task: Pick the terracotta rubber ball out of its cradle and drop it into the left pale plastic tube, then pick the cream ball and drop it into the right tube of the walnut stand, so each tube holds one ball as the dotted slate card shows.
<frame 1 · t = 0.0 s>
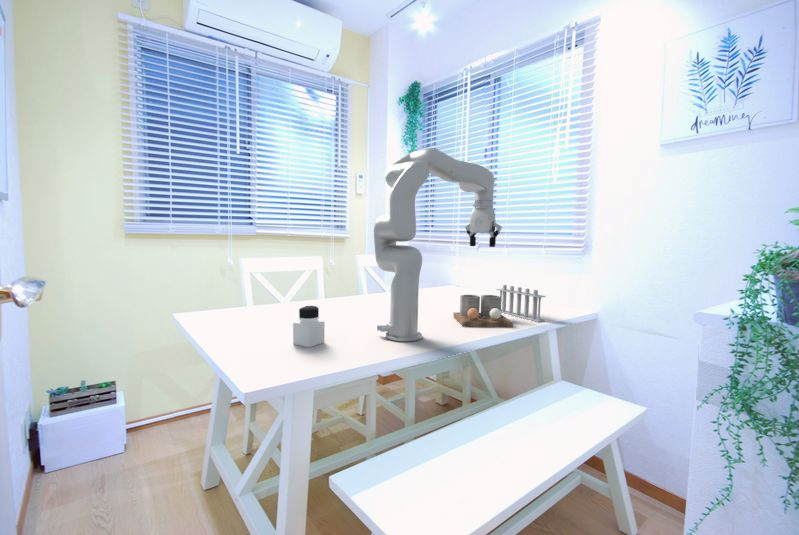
hand: (482, 246, 158), 31 cm above the table, tool pointing down, fingers open, 9 cm apart
stand: (481, 321, 156), on the table
medicine bottle: (308, 344, 120), on the table
ball cream: (495, 313, 151), point 5 cm above the table, touching stand
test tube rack: (518, 317, 169), on the table
ball terracotta: (473, 313, 150), point 5 cm above the table, touching stand
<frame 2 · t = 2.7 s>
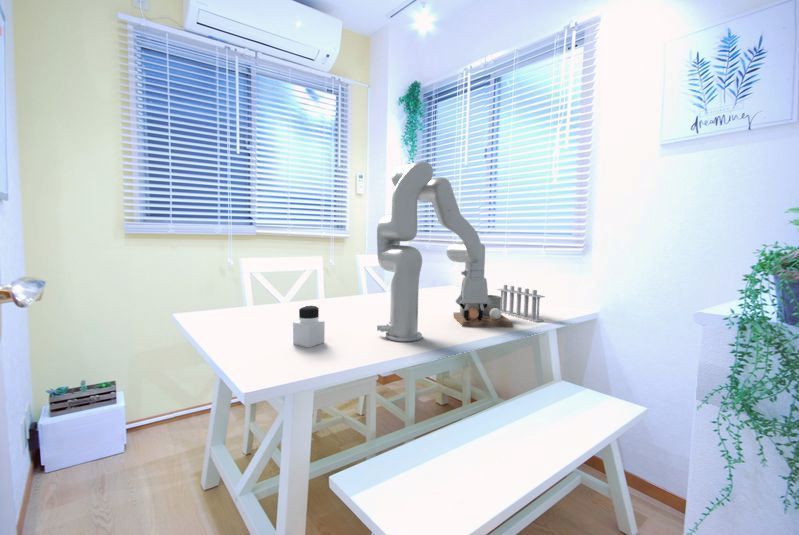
hand: (472, 319, 150), 2 cm above the table, tool pointing down, fingers closed on ball terracotta, stand, 4 cm apart
ball terracotta: (473, 313, 150), point 5 cm above the table, touching gripper, stand
everything else where it was.
when the fingers open (11 cm above the table, at t = 6.2 s): ball terracotta drops 9 cm, resting on stand.
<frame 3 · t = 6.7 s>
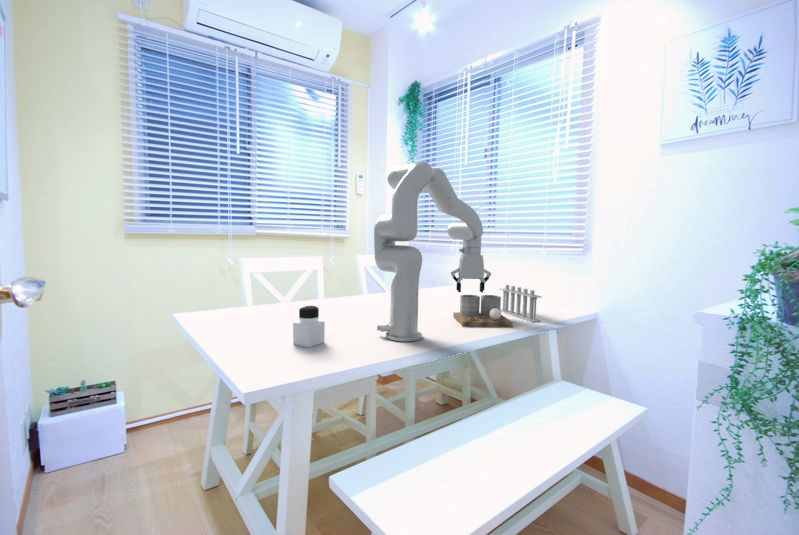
hand: (470, 292, 160), 12 cm above the table, tool pointing down, fingers open, 9 cm apart
ball terracotta: (469, 309, 160), point 4 cm above the table, tilted 7°, touching stand
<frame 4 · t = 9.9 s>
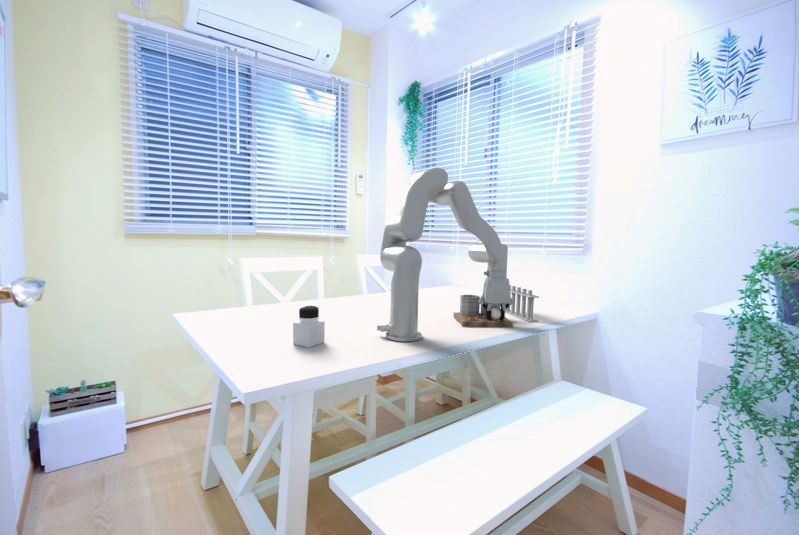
hand: (495, 319, 151), 2 cm above the table, tool pointing down, fingers closed on ball cream, stand, 4 cm apart
ball cream: (495, 313, 151), point 5 cm above the table, touching gripper, stand
ball terracotta: (468, 309, 160), point 4 cm above the table, tilted 13°, touching stand
when the fingers open (11 cm above the table, at t = 13.1 s): ball cream drops 9 cm, resting on stand.
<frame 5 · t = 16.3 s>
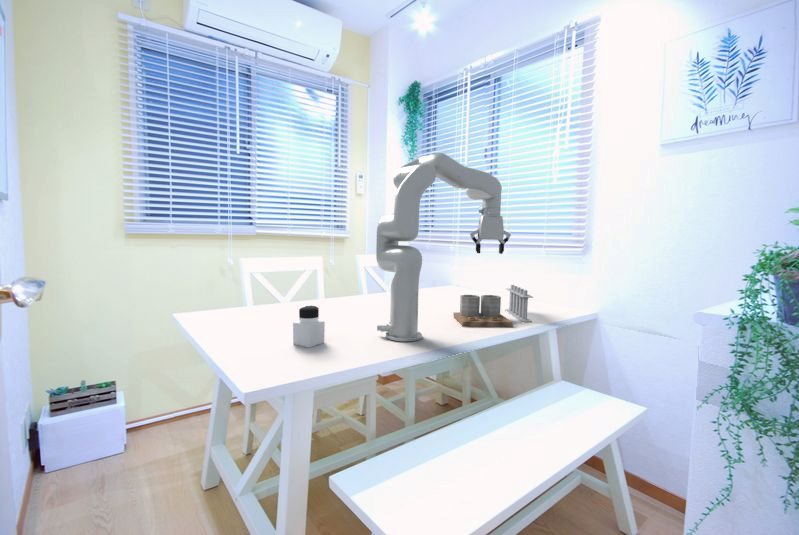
hand: (489, 253, 160), 28 cm above the table, tool pointing down, fingers open, 9 cm apart
ball cream: (488, 309, 161), point 4 cm above the table, tilted 18°, touching stand
at the end: ball terracotta 0.5 cm from the target spot on the stand, point 4.2 cm above the stand's base; ball cream 0.6 cm from the target spot on the stand, point 4.2 cm above the stand's base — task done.
